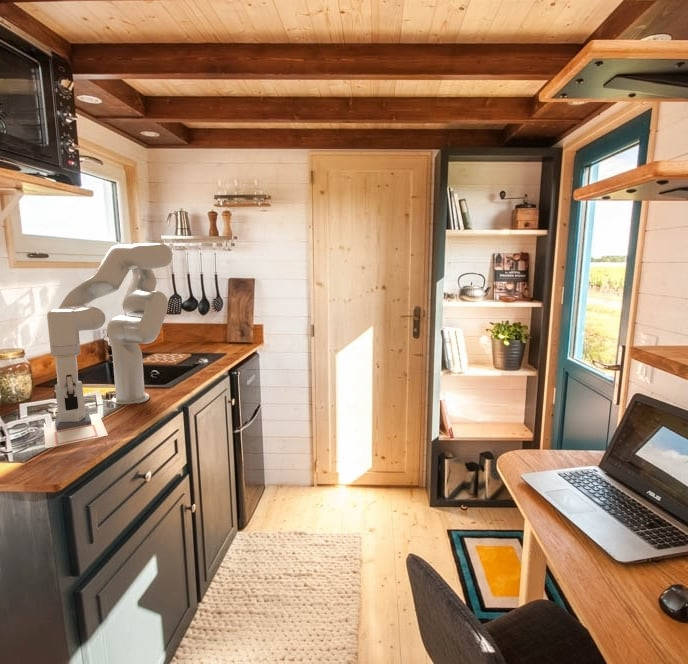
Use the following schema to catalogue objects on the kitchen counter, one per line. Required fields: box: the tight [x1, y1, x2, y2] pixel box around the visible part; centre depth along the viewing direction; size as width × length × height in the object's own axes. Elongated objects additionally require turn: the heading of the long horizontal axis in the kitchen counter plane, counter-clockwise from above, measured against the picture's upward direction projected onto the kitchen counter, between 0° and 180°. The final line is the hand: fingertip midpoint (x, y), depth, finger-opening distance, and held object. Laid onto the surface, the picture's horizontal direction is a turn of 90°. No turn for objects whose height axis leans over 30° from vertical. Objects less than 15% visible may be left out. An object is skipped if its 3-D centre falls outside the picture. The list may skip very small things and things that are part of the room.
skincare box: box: [54, 380, 87, 422], centre depth 128 cm, size 6×4×12 cm
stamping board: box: [43, 413, 109, 449], centre depth 126 cm, size 21×15×1 cm
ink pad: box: [54, 412, 91, 431], centre depth 130 cm, size 8×9×1 cm
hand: (71, 405), depth 129 cm, fingers closed on skincare box, 6 cm apart
